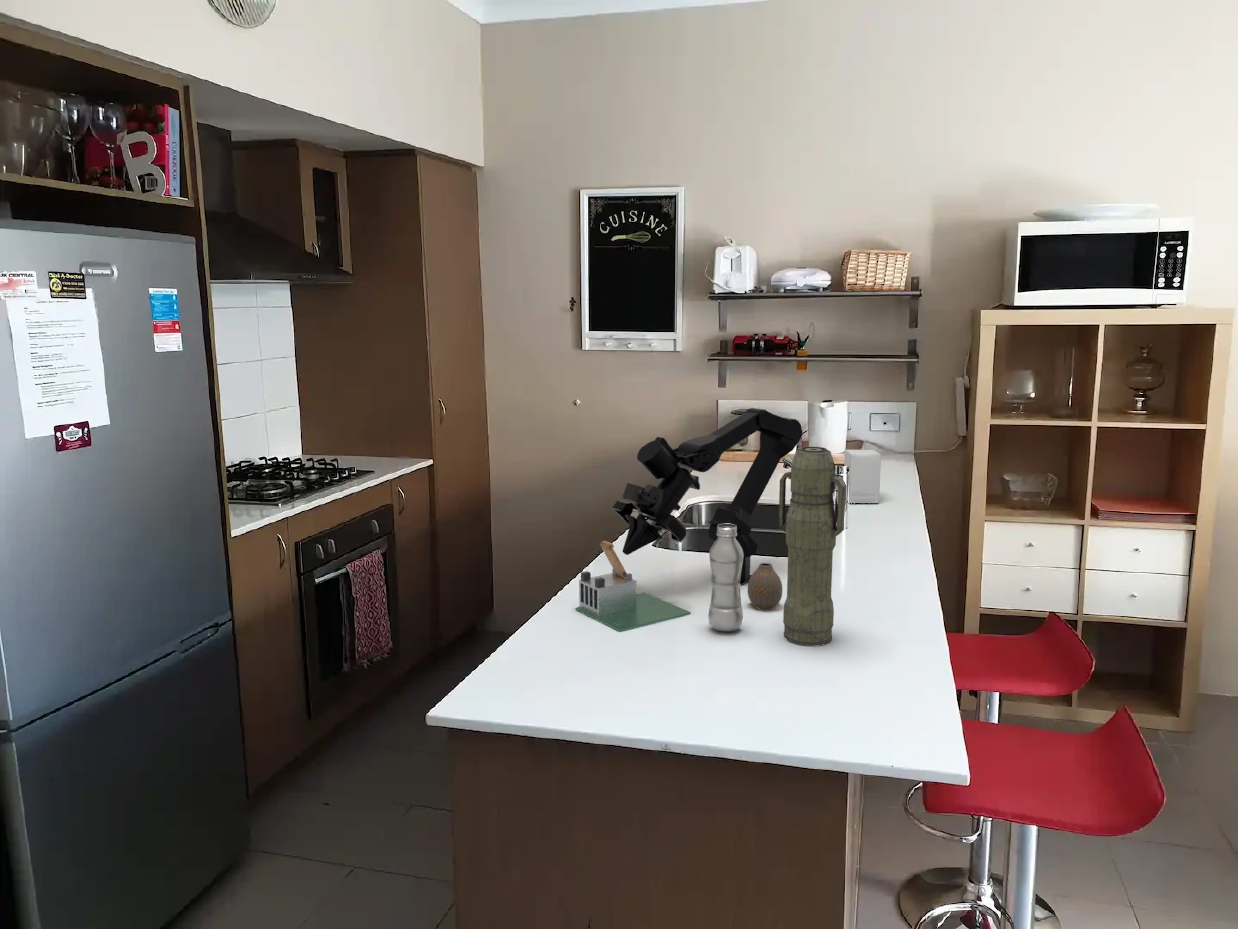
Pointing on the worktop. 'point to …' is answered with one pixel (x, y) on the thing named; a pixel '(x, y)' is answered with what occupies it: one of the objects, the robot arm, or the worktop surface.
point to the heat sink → (622, 602)
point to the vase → (765, 587)
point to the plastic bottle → (726, 580)
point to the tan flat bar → (613, 558)
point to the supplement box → (863, 475)
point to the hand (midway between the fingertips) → (624, 553)
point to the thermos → (810, 544)
